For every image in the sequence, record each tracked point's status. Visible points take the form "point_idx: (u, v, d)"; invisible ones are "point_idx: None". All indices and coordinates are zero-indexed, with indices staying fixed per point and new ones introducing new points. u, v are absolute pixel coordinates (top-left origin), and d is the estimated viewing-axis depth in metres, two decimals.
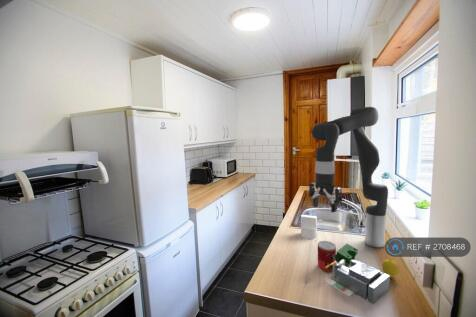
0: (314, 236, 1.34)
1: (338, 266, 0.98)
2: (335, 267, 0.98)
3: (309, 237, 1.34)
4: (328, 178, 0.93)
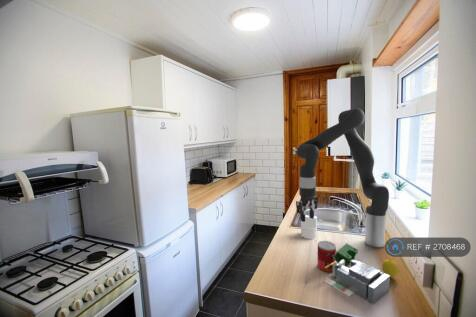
0: (314, 236, 1.34)
1: (338, 266, 0.98)
2: (335, 267, 0.98)
3: (309, 237, 1.34)
4: None
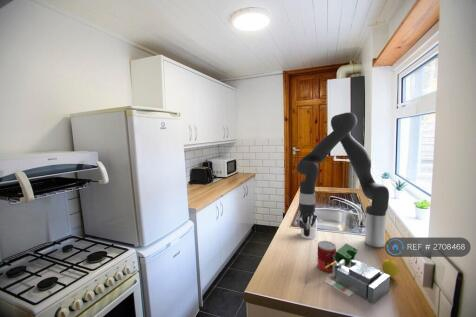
0: (314, 236, 1.34)
1: (338, 266, 0.98)
2: (335, 267, 0.98)
3: (309, 237, 1.34)
4: None
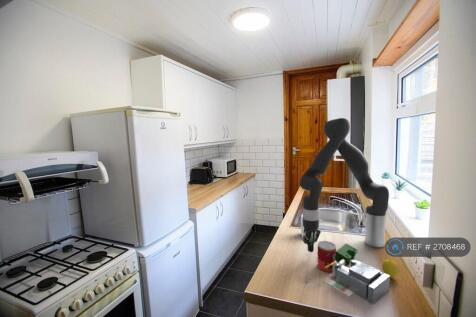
0: None
1: (338, 266, 0.98)
2: (335, 267, 0.98)
3: None
4: None
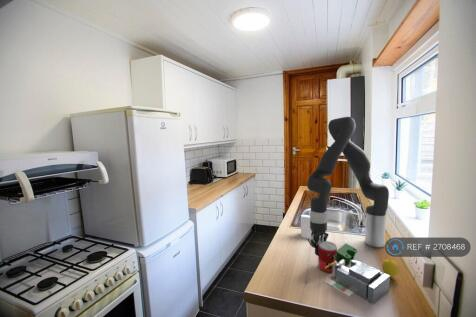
0: None
1: (338, 266, 0.98)
2: (335, 267, 0.98)
3: (309, 237, 1.34)
4: None
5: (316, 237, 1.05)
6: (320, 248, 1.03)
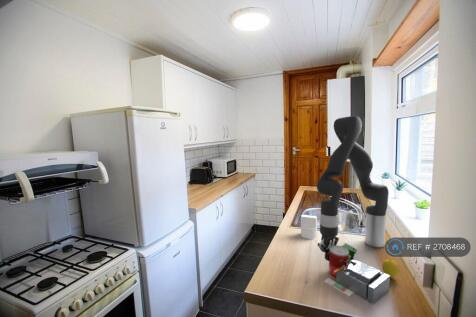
0: (314, 236, 1.34)
1: (346, 270, 0.95)
2: None
3: (309, 237, 1.34)
4: None
5: (326, 241, 1.01)
6: (332, 253, 0.98)
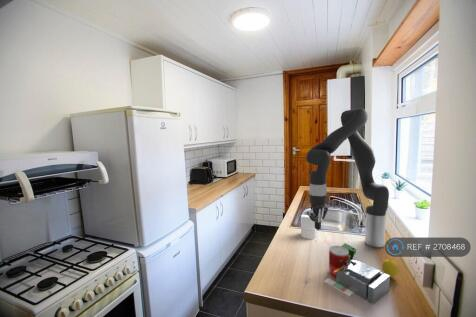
0: (314, 236, 1.34)
1: (347, 270, 0.95)
2: None
3: (309, 237, 1.34)
4: None
5: (316, 210, 1.04)
6: (331, 253, 0.98)
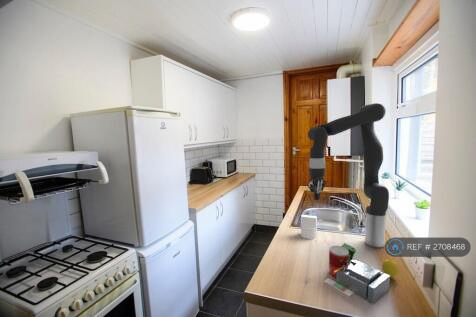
0: (314, 236, 1.34)
1: (347, 270, 0.95)
2: None
3: (309, 237, 1.34)
4: None
5: (315, 182, 1.15)
6: (331, 253, 0.98)
